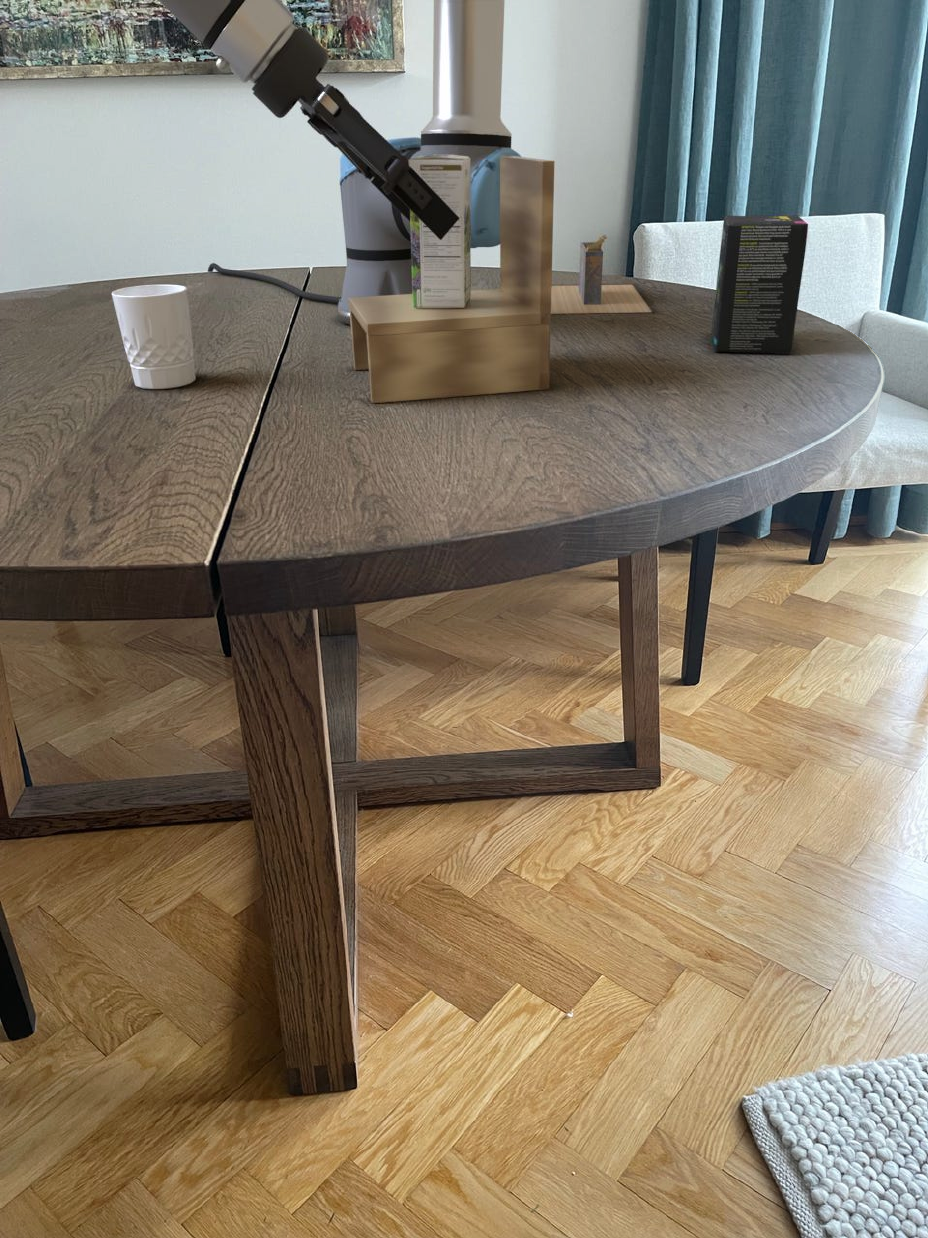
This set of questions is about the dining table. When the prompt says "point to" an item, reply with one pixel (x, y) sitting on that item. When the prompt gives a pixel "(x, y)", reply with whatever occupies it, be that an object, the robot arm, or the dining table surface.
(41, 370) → the dining table surface
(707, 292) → the dining table surface
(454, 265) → the syrup box
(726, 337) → the tampon box
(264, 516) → the dining table surface
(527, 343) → the shelf
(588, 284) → the ruin model on sheet
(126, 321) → the white cup
